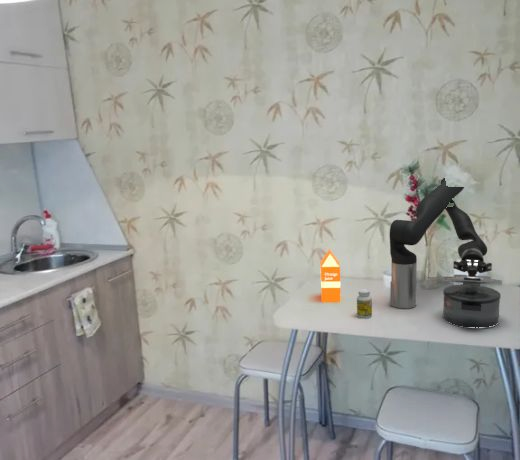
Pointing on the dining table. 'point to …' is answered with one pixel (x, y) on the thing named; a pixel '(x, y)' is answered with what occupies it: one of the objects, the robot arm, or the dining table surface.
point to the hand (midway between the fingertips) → (472, 272)
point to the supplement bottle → (364, 304)
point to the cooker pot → (471, 305)
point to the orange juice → (330, 278)
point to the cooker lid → (473, 279)
